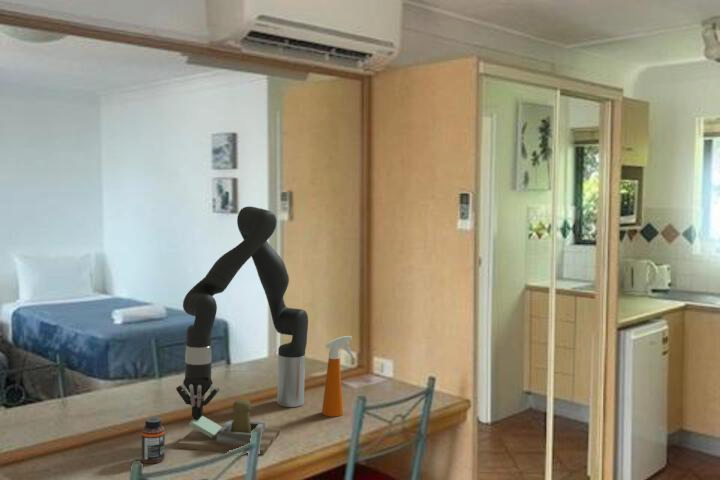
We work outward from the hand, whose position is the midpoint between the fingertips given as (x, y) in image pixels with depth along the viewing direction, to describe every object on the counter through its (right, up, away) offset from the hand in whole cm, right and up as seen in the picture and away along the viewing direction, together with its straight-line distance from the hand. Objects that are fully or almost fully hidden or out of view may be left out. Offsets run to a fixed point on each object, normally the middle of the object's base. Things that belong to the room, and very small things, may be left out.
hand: (197, 418), depth 208 cm
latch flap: (+3, -3, 0) cm, 4 cm away
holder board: (+10, -6, 0) cm, 12 cm away
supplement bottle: (-8, -7, -16) cm, 20 cm away
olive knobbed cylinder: (+13, -5, -1) cm, 14 cm away
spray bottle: (+41, -6, +28) cm, 50 cm away
